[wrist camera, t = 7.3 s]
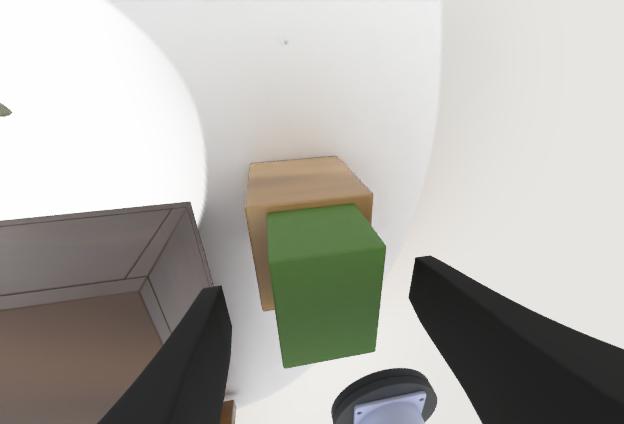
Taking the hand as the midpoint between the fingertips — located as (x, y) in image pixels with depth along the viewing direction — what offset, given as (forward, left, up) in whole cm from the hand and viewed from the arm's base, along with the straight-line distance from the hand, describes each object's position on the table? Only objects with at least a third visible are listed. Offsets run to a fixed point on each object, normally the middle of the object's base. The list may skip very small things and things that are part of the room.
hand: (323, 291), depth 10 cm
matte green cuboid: (0, 0, -2) cm, 2 cm away
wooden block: (0, 0, -8) cm, 8 cm away
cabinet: (-6, +12, -8) cm, 15 cm away
